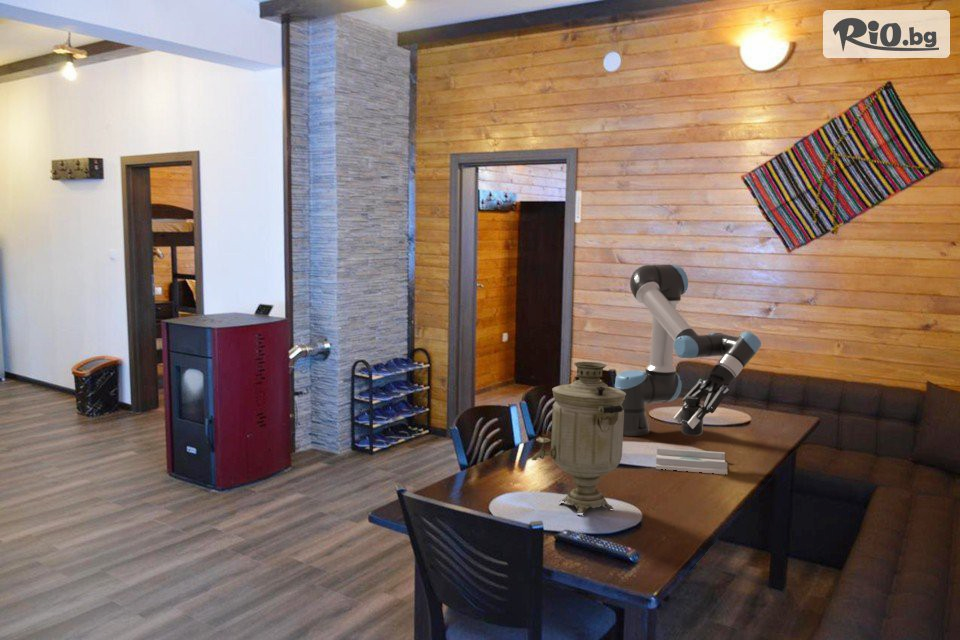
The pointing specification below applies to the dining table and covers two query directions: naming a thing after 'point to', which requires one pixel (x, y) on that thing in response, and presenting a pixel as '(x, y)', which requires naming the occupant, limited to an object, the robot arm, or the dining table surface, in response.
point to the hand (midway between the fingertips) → (683, 423)
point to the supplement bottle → (687, 414)
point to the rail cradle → (691, 461)
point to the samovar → (586, 433)
